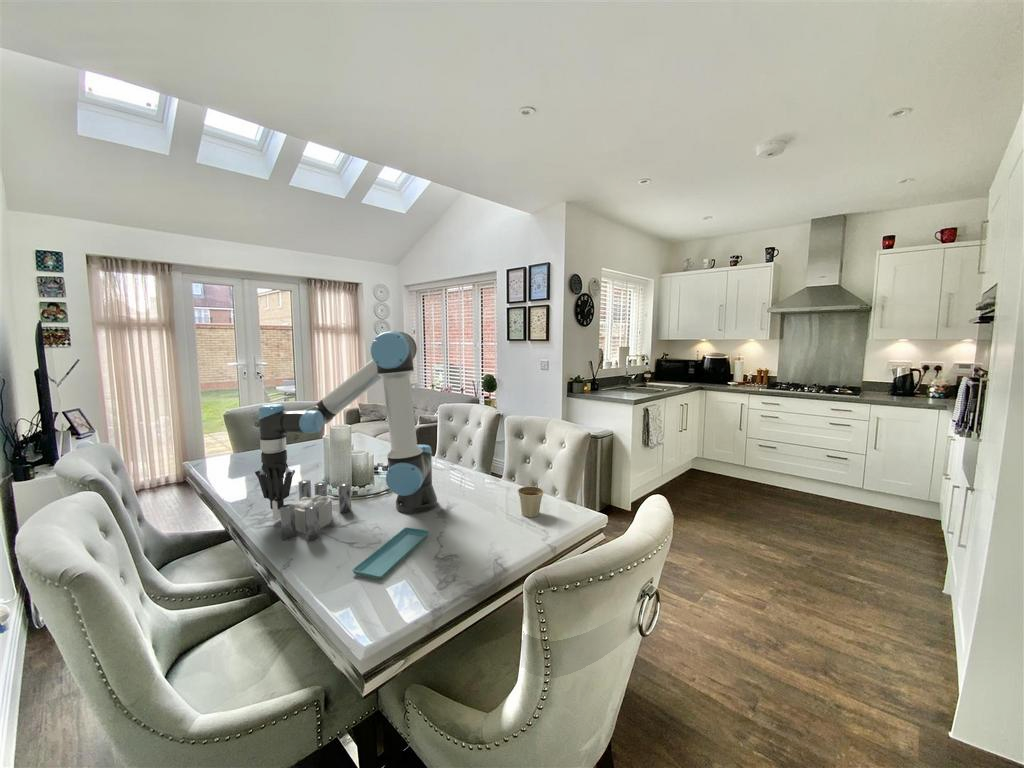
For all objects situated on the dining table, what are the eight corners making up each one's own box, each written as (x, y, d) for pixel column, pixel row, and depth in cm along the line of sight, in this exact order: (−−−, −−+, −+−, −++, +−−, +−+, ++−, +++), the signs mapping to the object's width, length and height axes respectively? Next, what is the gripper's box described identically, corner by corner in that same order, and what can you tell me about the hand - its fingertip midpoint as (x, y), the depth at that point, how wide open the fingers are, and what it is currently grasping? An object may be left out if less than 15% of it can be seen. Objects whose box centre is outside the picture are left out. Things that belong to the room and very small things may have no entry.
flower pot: (549, 513, 148) (549, 490, 148) (532, 522, 142) (532, 497, 141) (529, 506, 155) (529, 484, 154) (512, 514, 148) (512, 490, 147)
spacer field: (355, 507, 153) (354, 481, 152) (315, 541, 127) (314, 510, 126) (303, 505, 155) (302, 479, 154) (254, 538, 129) (252, 507, 128)
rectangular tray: (381, 584, 106) (380, 574, 106) (351, 577, 109) (350, 568, 108) (431, 538, 131) (430, 530, 130) (405, 534, 133) (405, 526, 133)
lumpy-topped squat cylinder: (285, 528, 137) (284, 502, 136) (318, 513, 148) (317, 490, 147) (307, 534, 132) (306, 508, 131) (340, 518, 144) (339, 494, 143)
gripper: (299, 447, 142) (302, 514, 144) (263, 447, 143) (267, 512, 145) (285, 453, 135) (289, 523, 137) (247, 452, 136) (252, 522, 138)
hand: (277, 518), depth 141 cm, fingers closed
